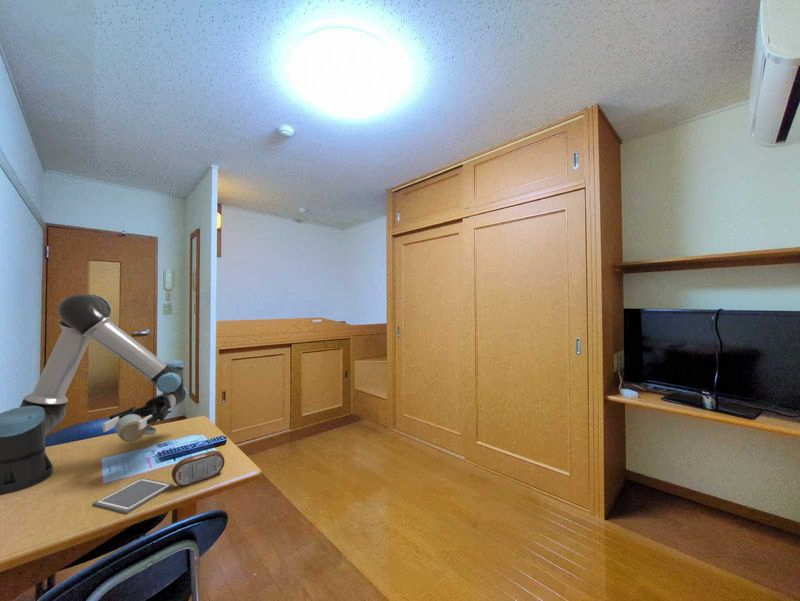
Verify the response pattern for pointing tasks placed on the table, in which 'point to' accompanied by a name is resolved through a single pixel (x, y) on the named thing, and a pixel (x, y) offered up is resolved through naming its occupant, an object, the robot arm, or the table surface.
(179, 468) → the tin
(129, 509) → the card
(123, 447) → the table surface
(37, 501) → the table surface
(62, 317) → the robot arm
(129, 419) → the ceramic mug
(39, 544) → the table surface
